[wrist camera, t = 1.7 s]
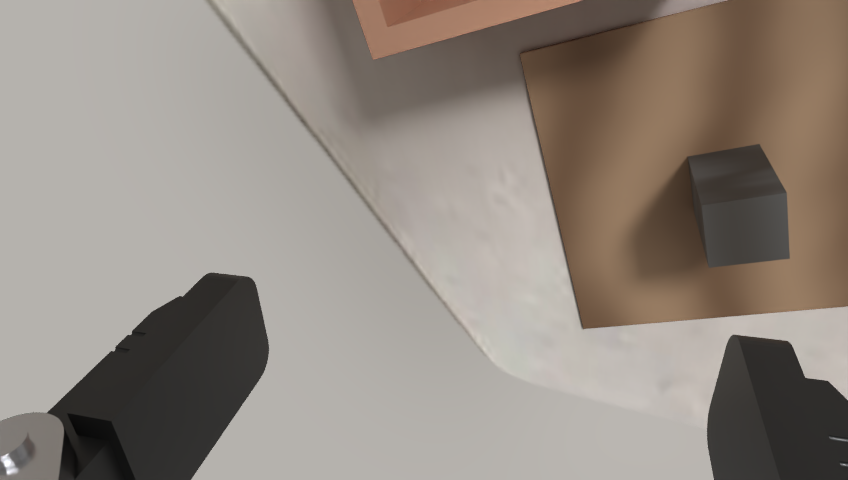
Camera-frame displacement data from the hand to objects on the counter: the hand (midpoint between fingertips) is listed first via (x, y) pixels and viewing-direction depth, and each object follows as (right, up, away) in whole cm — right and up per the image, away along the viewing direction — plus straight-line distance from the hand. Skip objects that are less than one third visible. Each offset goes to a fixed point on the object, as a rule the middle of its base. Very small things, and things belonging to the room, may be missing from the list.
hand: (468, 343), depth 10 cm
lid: (+14, +5, +19) cm, 24 cm away
